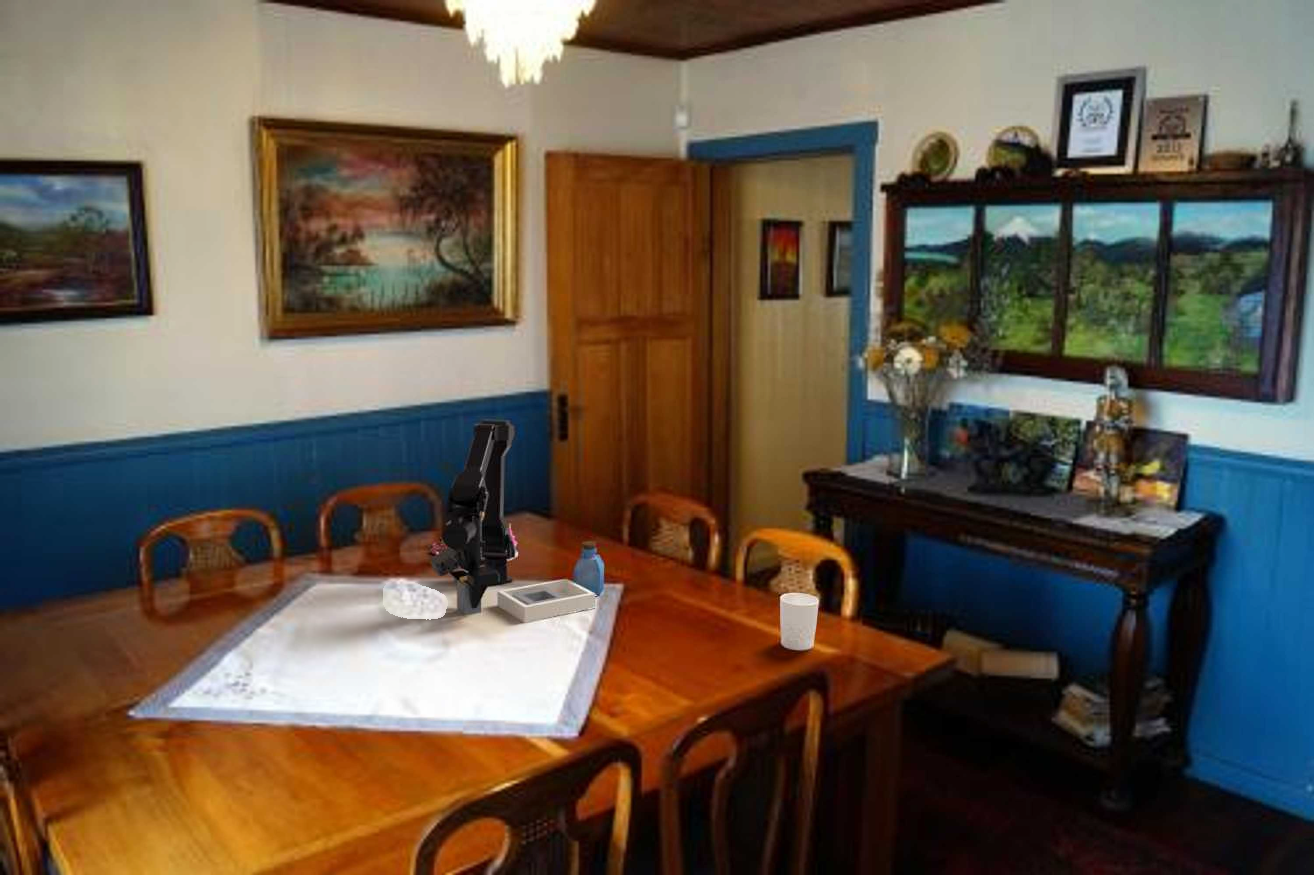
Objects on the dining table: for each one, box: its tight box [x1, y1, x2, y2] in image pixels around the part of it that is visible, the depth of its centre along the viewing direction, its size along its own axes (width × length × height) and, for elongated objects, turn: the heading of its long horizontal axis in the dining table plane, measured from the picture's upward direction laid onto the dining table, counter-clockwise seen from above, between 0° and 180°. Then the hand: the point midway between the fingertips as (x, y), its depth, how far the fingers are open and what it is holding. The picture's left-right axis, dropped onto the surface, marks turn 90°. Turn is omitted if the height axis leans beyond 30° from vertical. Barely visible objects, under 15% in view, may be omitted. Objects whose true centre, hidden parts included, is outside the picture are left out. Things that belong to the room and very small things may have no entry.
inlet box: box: [496, 578, 596, 624], centre depth 238 cm, size 13×18×4 cm
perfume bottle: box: [573, 540, 605, 597], centre depth 249 cm, size 6×6×12 cm
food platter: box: [428, 512, 519, 562], centre depth 281 cm, size 25×24×9 cm
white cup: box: [779, 592, 820, 651], centre depth 218 cm, size 8×8×10 cm
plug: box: [456, 576, 482, 617], centre depth 234 cm, size 4×4×8 cm
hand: (469, 604), depth 234 cm, fingers open, 5 cm apart
